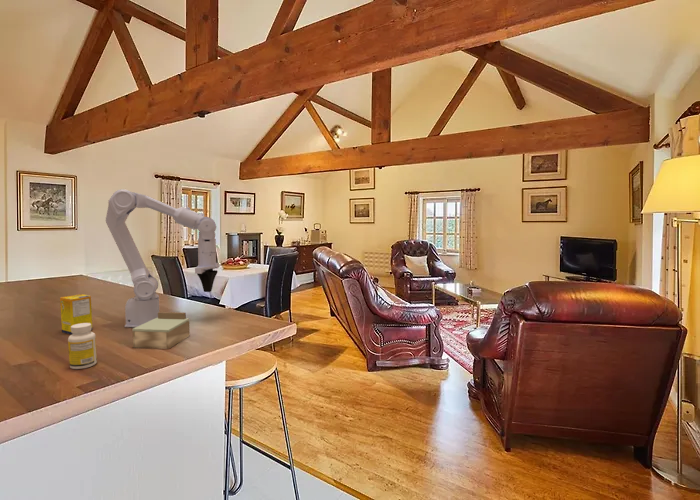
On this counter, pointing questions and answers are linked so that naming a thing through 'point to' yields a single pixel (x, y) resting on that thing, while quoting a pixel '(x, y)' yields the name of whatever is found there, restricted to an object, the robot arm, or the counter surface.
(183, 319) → the lid
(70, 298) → the supplement box
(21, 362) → the counter surface
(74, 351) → the supplement bottle
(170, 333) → the box
